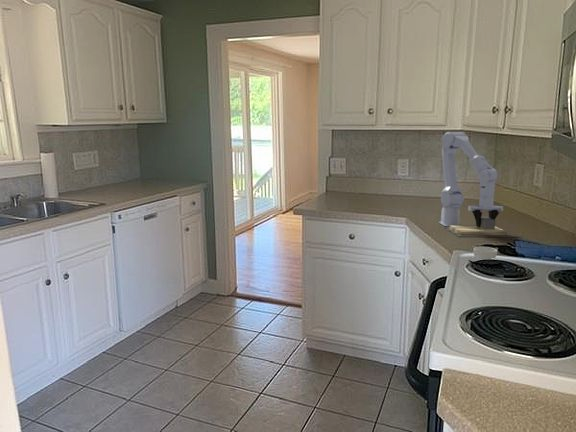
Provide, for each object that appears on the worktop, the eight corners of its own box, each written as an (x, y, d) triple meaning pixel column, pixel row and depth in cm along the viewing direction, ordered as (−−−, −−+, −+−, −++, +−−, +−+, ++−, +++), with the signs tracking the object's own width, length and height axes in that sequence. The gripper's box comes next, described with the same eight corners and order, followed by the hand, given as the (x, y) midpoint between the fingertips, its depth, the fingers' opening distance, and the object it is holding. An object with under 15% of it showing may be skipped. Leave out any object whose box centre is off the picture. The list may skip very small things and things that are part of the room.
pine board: (444, 228, 202) (444, 224, 202) (494, 228, 202) (494, 224, 202) (458, 236, 185) (458, 232, 184) (513, 237, 184) (513, 232, 184)
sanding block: (475, 226, 196) (476, 216, 195) (485, 226, 196) (486, 216, 195) (484, 230, 188) (485, 220, 187) (494, 230, 189) (495, 220, 188)
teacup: (506, 266, 143) (507, 252, 142) (477, 267, 142) (478, 253, 142) (490, 258, 153) (491, 245, 152) (463, 258, 152) (464, 245, 151)
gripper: (473, 197, 187) (471, 228, 189) (507, 197, 186) (504, 228, 189) (467, 195, 194) (465, 225, 196) (500, 195, 193) (497, 225, 196)
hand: (484, 226), depth 193 cm, fingers closed on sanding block, 5 cm apart
